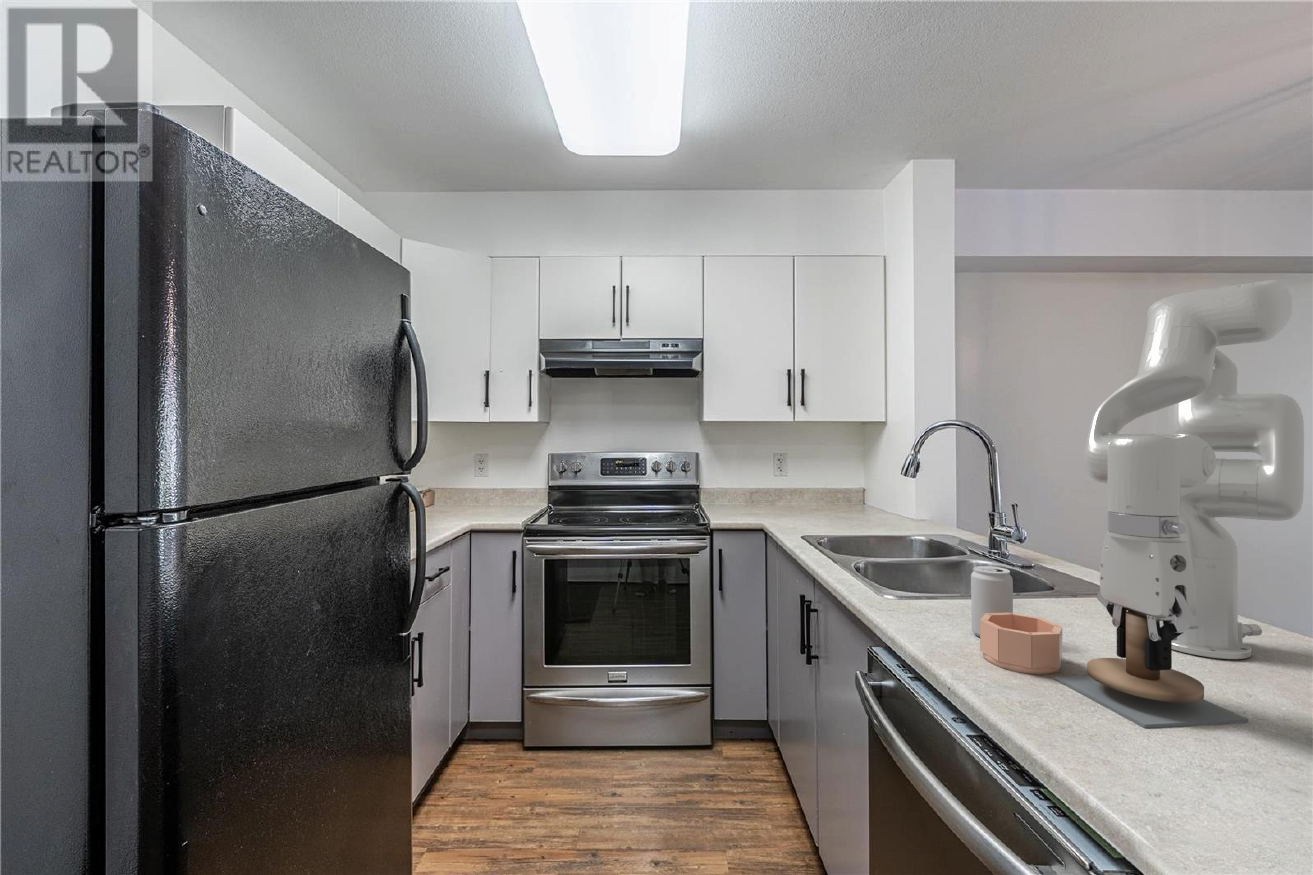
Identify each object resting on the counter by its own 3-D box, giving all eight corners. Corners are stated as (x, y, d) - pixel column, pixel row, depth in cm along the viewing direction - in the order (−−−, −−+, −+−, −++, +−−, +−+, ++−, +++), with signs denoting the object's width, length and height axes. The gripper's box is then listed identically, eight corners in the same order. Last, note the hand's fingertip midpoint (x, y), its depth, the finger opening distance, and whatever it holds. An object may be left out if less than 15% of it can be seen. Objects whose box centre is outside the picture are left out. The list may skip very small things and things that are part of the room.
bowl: (1027, 647, 96) (1027, 611, 96) (1078, 673, 86) (1078, 633, 86) (968, 649, 96) (968, 613, 96) (1012, 676, 85) (1012, 635, 85)
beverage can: (1019, 643, 98) (1019, 573, 98) (978, 641, 99) (978, 572, 99) (1004, 631, 104) (1004, 565, 104) (966, 629, 106) (966, 564, 106)
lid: (1142, 663, 84) (1142, 601, 84) (1231, 700, 72) (1231, 628, 72) (1065, 666, 83) (1065, 603, 83) (1142, 704, 71) (1142, 631, 71)
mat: (1143, 675, 85) (1143, 673, 85) (1248, 722, 71) (1248, 719, 71) (1054, 679, 84) (1054, 676, 84) (1144, 727, 70) (1144, 724, 70)
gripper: (1235, 536, 69) (1235, 688, 69) (1114, 518, 86) (1115, 640, 86) (1178, 537, 69) (1178, 690, 69) (1067, 518, 85) (1068, 642, 85)
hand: (1143, 661), depth 77 cm, fingers closed on lid, 3 cm apart
